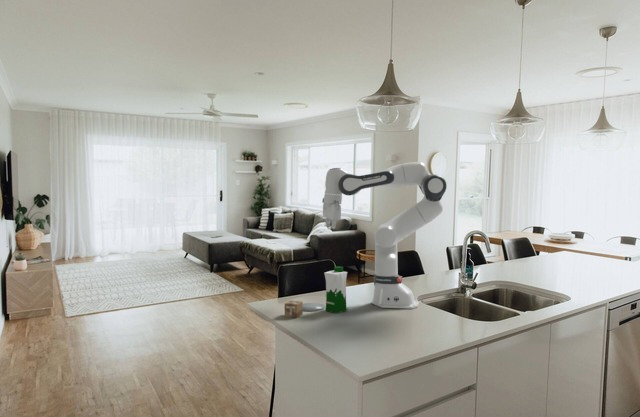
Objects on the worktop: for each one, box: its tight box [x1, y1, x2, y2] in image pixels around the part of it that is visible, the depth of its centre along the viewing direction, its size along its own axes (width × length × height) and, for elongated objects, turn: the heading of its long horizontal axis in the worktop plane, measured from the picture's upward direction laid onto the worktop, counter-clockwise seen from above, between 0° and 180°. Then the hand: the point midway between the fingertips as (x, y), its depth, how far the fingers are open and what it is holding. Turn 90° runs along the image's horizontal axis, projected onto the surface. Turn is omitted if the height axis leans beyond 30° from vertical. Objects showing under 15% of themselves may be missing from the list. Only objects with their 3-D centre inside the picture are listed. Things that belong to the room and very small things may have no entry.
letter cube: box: [284, 300, 304, 319], centre depth 186 cm, size 6×6×6 cm
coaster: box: [303, 302, 326, 312], centre depth 199 cm, size 13×13×1 cm
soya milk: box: [323, 265, 348, 314], centre depth 193 cm, size 9×9×20 cm
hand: (330, 227), depth 210 cm, fingers open, 8 cm apart
